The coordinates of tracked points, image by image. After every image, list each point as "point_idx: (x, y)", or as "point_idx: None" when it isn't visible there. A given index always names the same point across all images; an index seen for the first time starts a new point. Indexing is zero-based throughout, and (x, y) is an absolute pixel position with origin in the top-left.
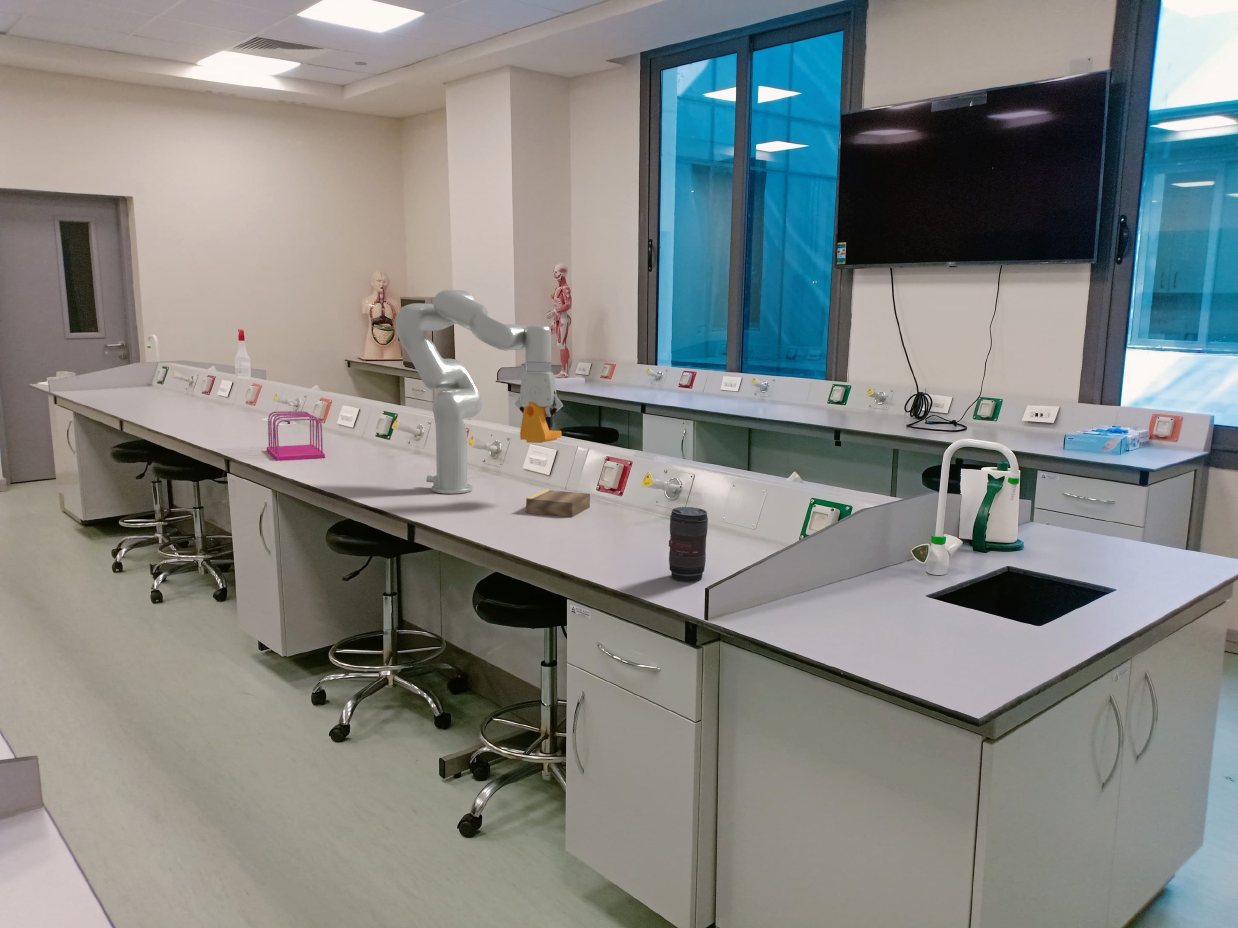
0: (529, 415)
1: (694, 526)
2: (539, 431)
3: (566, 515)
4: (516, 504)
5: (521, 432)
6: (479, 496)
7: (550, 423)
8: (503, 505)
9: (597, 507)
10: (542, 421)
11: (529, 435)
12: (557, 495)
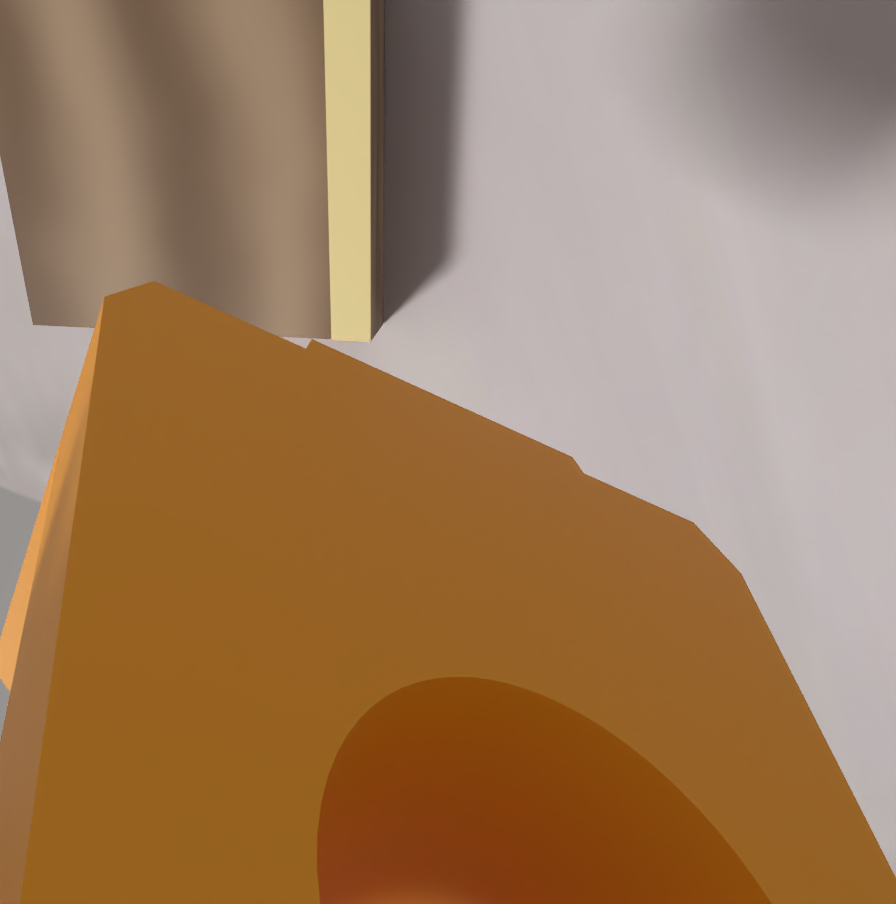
0: (604, 769)
1: None
2: (249, 377)
3: None
4: (543, 209)
5: (716, 569)
6: (850, 355)
7: None
8: (617, 141)
9: None
10: (64, 493)
11: (527, 470)
12: (204, 168)
